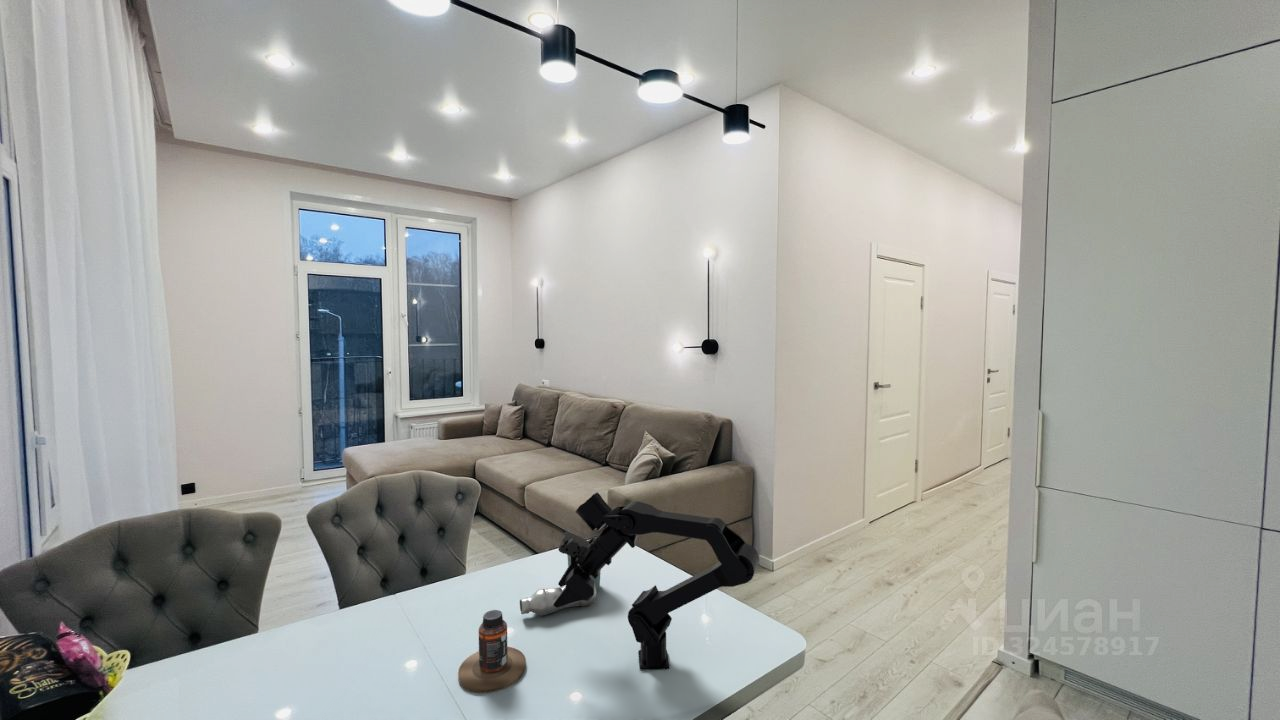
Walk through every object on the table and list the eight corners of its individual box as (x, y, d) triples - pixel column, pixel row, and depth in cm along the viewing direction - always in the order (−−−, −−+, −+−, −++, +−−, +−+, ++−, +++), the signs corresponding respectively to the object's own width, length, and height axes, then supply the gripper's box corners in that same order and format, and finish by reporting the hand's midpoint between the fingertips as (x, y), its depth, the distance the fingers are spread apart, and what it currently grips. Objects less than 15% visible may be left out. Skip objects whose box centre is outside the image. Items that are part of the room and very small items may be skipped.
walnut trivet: (519, 691, 104) (519, 686, 104) (449, 694, 104) (449, 689, 104) (530, 649, 118) (530, 644, 118) (469, 651, 118) (468, 647, 118)
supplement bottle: (512, 666, 111) (512, 615, 110) (486, 678, 107) (485, 625, 106) (500, 653, 115) (499, 604, 115) (474, 664, 111) (473, 613, 111)
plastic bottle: (589, 582, 144) (517, 597, 136) (595, 574, 139) (520, 589, 131) (595, 606, 140) (521, 623, 132) (600, 598, 135) (524, 616, 127)
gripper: (582, 508, 125) (537, 553, 125) (576, 538, 106) (524, 592, 106) (615, 538, 126) (570, 584, 126) (615, 574, 107) (562, 627, 107)
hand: (557, 595), depth 116 cm, fingers open, 9 cm apart
